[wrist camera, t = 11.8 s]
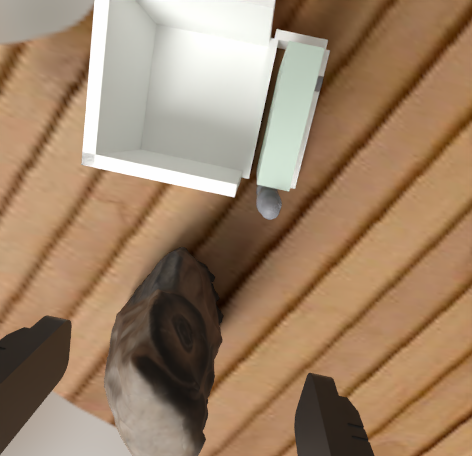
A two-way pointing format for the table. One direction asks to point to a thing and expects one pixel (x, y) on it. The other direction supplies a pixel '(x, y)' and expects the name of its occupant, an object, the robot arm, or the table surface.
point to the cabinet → (185, 91)
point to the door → (289, 114)
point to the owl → (165, 359)
